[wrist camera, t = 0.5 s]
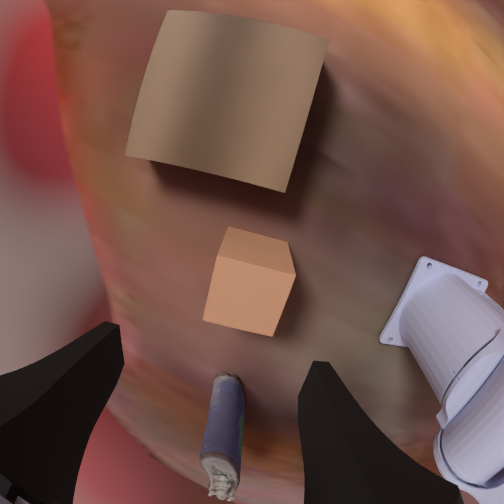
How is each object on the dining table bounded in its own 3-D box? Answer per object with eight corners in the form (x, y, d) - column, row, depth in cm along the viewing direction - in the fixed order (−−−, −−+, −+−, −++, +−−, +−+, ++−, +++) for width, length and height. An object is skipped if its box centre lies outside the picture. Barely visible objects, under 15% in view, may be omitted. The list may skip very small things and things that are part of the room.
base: (318, 55, 14) (329, 39, 11) (281, 185, 17) (285, 193, 14) (181, 27, 13) (168, 9, 11) (145, 152, 17) (125, 155, 14)
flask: (212, 369, 23) (192, 477, 13) (246, 371, 23) (239, 482, 13) (218, 425, 27) (207, 509, 17) (245, 426, 26) (241, 512, 16)
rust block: (287, 242, 19) (296, 275, 14) (270, 293, 20) (272, 336, 15) (228, 226, 18) (217, 255, 14) (215, 279, 20) (202, 320, 15)
